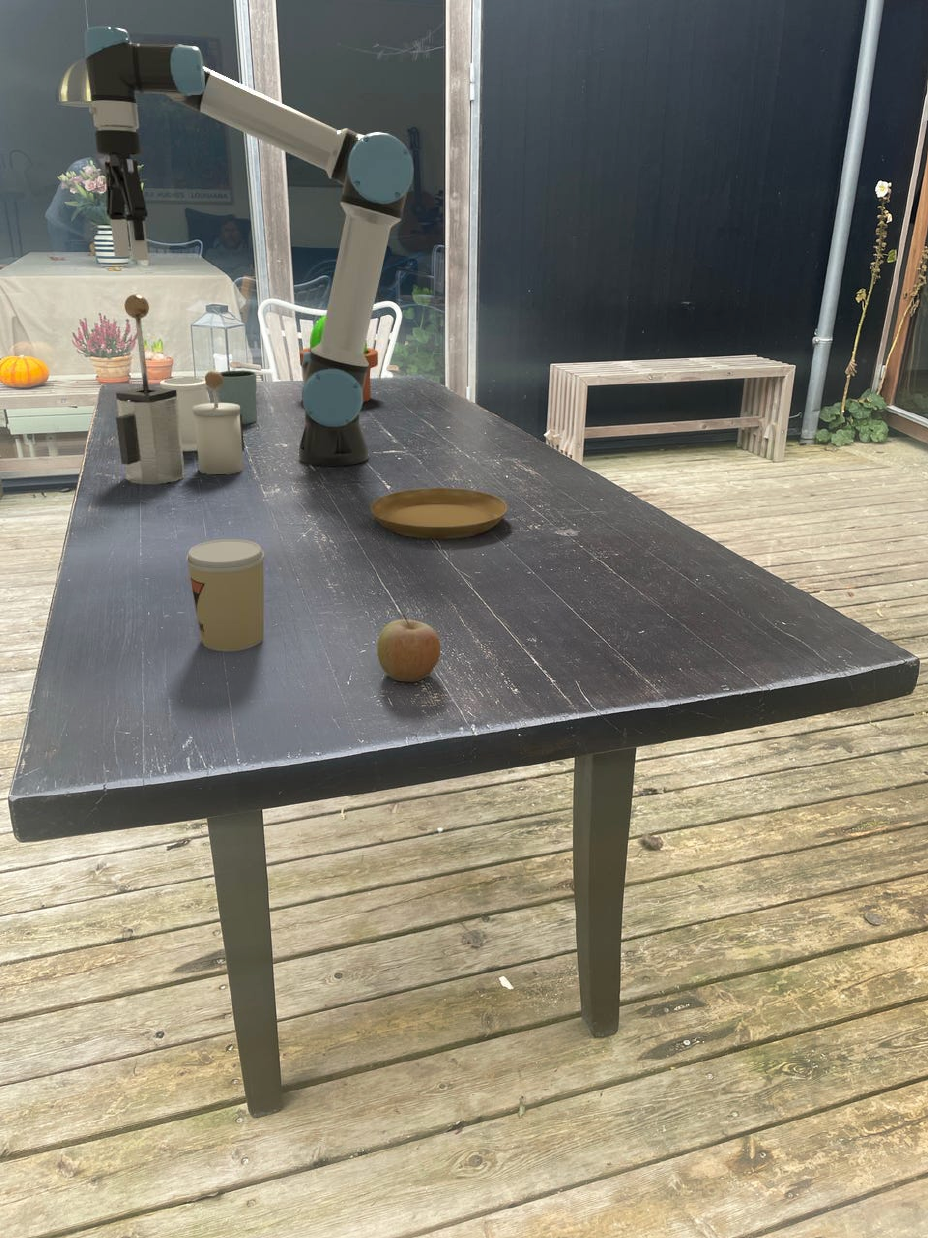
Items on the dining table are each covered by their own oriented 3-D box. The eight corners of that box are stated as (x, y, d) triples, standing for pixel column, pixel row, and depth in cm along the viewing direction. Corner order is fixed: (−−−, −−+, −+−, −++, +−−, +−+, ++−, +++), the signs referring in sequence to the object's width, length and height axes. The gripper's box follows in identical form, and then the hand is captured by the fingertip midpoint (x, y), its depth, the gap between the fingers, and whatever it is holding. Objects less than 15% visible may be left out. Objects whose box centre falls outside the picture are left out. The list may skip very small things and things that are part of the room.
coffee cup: (201, 625, 126) (192, 538, 121) (273, 623, 126) (267, 537, 122) (188, 655, 117) (179, 563, 112) (265, 653, 118) (259, 562, 113)
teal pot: (267, 420, 247) (264, 372, 242) (239, 426, 239) (235, 377, 234) (239, 415, 252) (235, 368, 247) (210, 421, 244) (206, 373, 239)
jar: (201, 454, 212) (195, 385, 206) (158, 451, 213) (151, 383, 208) (222, 444, 221) (216, 378, 215) (180, 441, 223) (174, 376, 217)
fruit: (365, 683, 111) (364, 620, 108) (392, 658, 117) (391, 598, 114) (425, 695, 109) (426, 631, 105) (449, 669, 115) (450, 608, 112)
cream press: (260, 464, 204) (253, 367, 196) (226, 477, 194) (218, 375, 186) (224, 459, 208) (216, 364, 200) (189, 471, 198) (179, 371, 190)
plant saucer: (346, 533, 163) (345, 515, 162) (405, 498, 183) (405, 481, 182) (478, 553, 155) (478, 533, 154) (524, 513, 175) (525, 496, 174)
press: (195, 473, 196) (187, 389, 189) (150, 490, 184) (139, 400, 178) (152, 467, 200) (142, 384, 193) (105, 483, 188) (93, 395, 182)
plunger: (177, 405, 190) (166, 293, 181) (150, 411, 183) (137, 296, 175) (145, 401, 193) (133, 291, 184) (117, 408, 186) (103, 294, 178)
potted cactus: (303, 393, 284) (299, 305, 274) (377, 392, 286) (375, 305, 276) (300, 407, 264) (295, 312, 254) (379, 406, 266) (377, 313, 256)
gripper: (80, 132, 176) (95, 255, 185) (111, 124, 157) (126, 261, 165) (122, 134, 180) (135, 254, 188) (157, 127, 161) (170, 261, 169)
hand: (131, 258), depth 177 cm, fingers open, 13 cm apart
